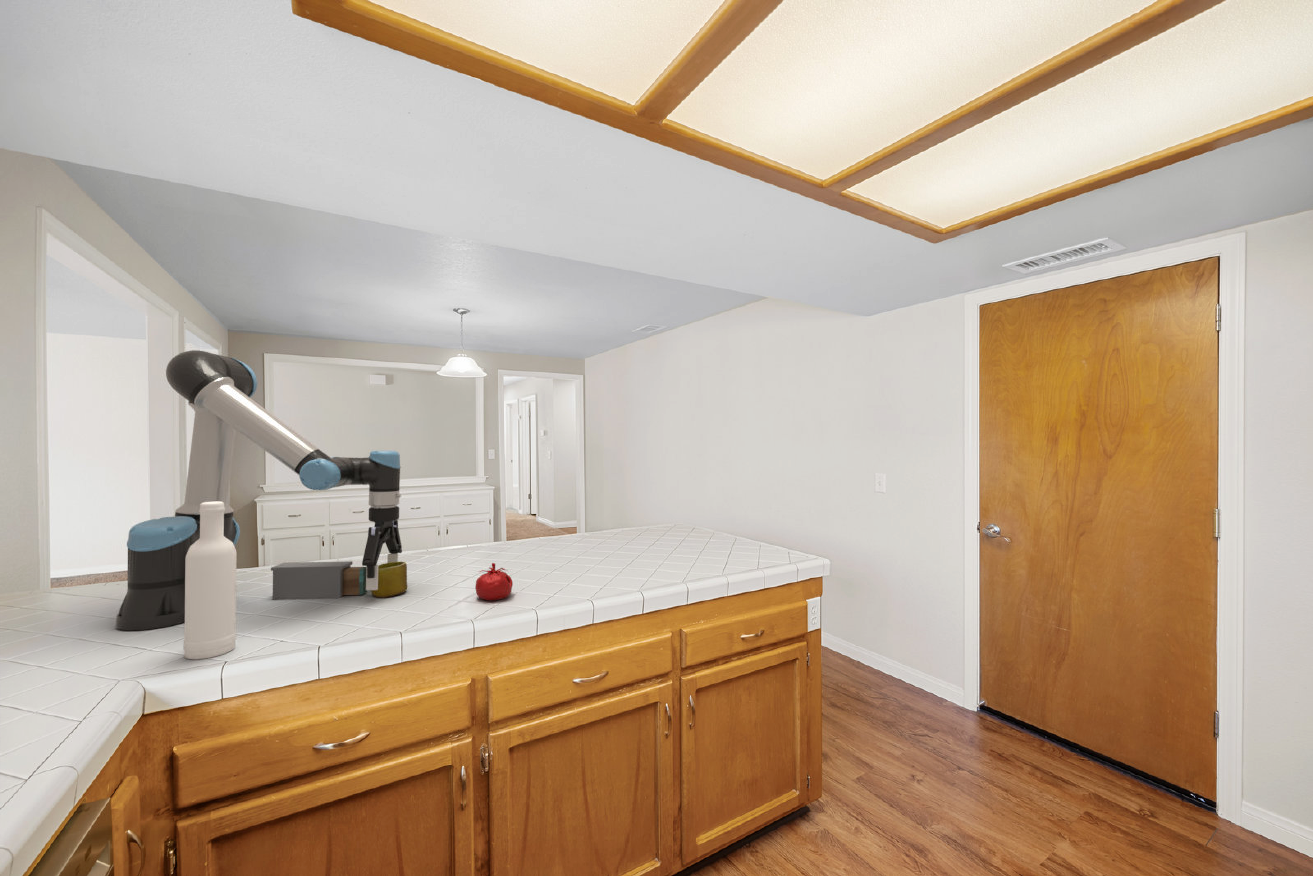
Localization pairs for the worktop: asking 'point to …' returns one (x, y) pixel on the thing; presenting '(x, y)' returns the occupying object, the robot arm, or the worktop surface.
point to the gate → (354, 581)
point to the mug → (391, 579)
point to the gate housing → (308, 580)
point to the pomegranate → (493, 584)
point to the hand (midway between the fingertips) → (382, 582)
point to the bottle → (210, 588)
